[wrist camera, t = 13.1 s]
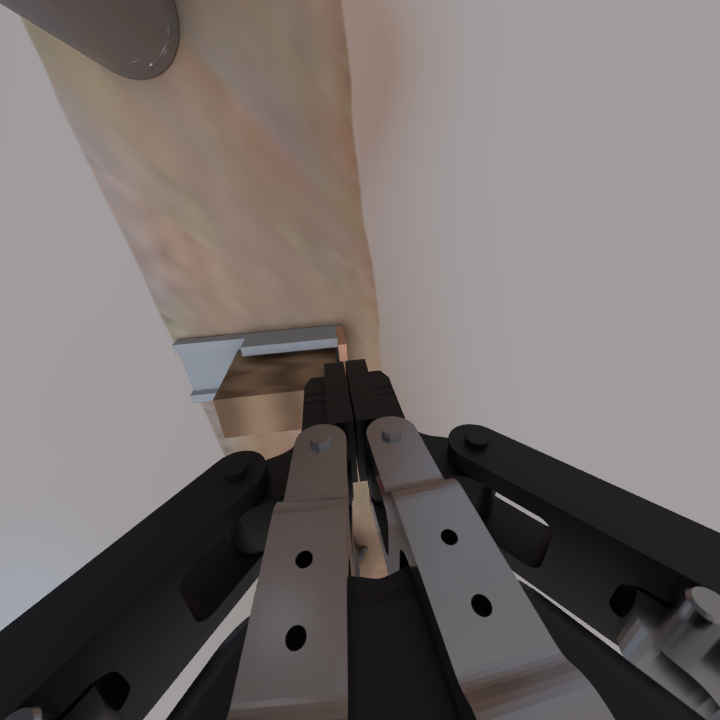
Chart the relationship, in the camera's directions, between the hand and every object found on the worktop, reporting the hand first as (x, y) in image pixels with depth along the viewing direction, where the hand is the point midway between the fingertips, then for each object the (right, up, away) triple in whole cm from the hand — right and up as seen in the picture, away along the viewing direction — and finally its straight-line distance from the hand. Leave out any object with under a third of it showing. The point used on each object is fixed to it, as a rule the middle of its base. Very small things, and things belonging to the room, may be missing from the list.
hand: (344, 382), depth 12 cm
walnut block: (-9, +1, +33) cm, 34 cm away
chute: (-12, +1, +33) cm, 35 cm away
